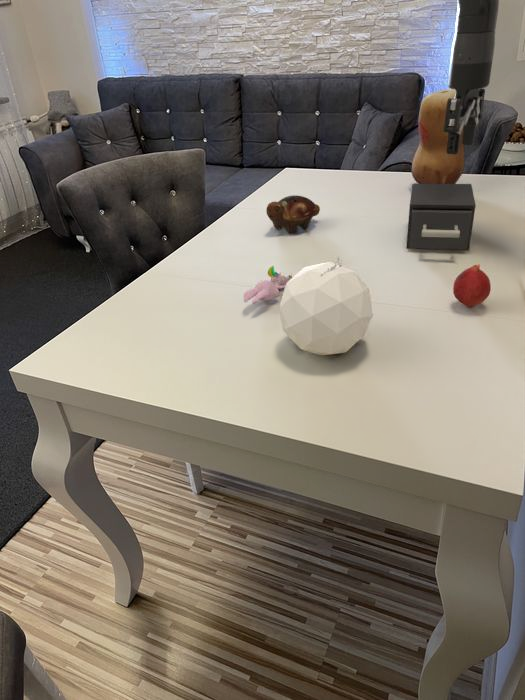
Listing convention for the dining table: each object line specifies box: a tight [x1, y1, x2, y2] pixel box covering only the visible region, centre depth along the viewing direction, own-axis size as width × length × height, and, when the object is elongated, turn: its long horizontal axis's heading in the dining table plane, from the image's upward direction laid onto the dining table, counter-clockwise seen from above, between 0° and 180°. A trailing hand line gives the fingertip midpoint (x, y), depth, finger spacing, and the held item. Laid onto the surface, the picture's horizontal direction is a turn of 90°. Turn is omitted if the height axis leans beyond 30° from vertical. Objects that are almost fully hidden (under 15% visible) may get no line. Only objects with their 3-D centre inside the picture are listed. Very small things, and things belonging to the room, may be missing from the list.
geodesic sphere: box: [278, 257, 374, 356], centre depth 81 cm, size 15×14×14 cm
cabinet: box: [405, 183, 476, 252], centre depth 116 cm, size 15×13×10 cm
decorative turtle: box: [265, 194, 321, 235], centre depth 127 cm, size 10×15×8 cm, turn 132°
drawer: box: [409, 208, 472, 251], centre depth 112 cm, size 18×11×8 cm, turn 165°
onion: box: [452, 263, 492, 309], centre depth 89 cm, size 6×6×8 cm
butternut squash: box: [411, 88, 467, 184], centre depth 139 cm, size 14×13×25 cm
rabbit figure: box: [243, 265, 293, 304], centre depth 98 cm, size 6×6×15 cm
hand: (460, 149), depth 109 cm, fingers open, 8 cm apart
